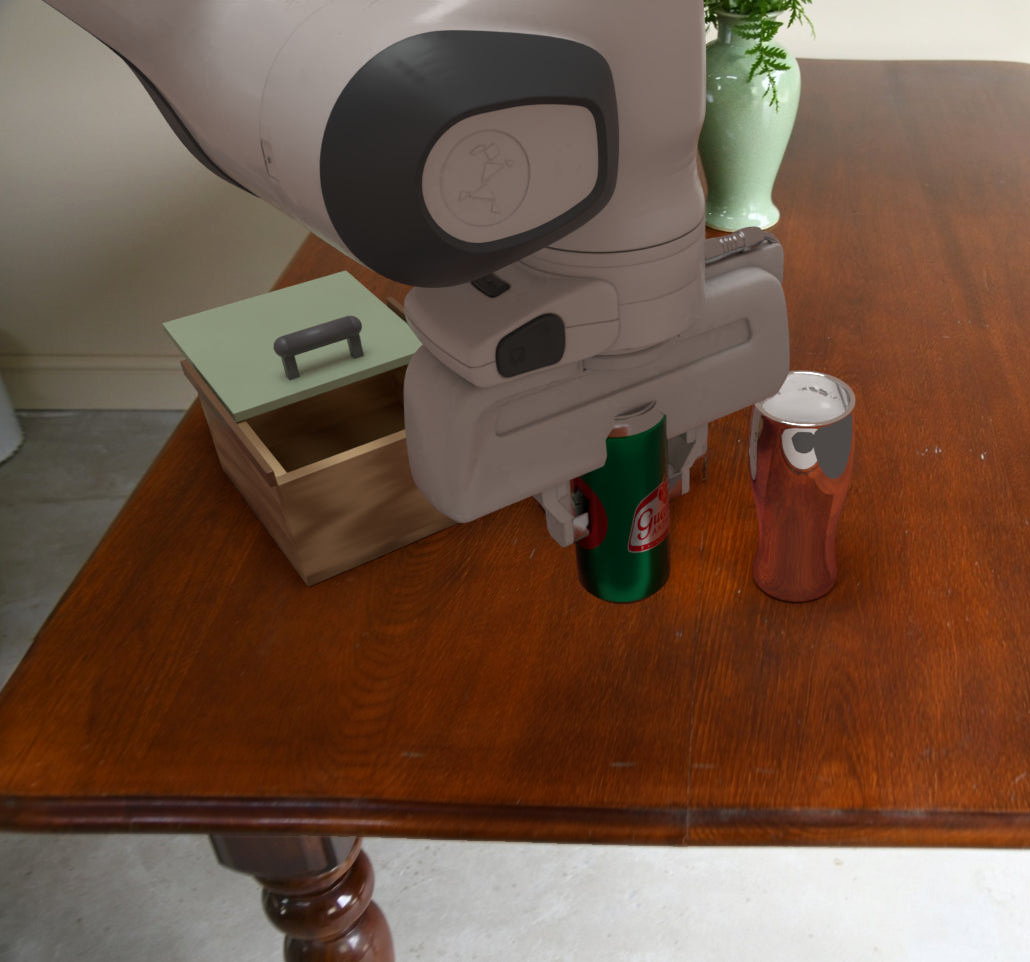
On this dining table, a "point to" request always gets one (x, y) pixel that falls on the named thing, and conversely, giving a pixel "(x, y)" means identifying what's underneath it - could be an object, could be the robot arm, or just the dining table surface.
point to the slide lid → (292, 343)
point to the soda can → (627, 512)
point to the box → (327, 472)
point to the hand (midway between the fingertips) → (619, 514)
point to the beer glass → (800, 482)
